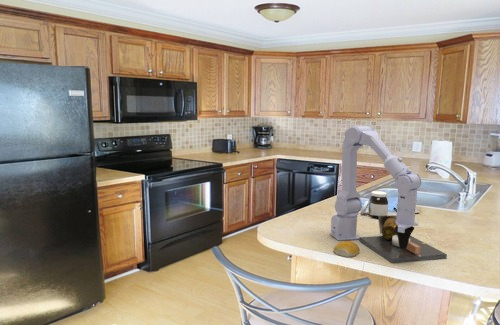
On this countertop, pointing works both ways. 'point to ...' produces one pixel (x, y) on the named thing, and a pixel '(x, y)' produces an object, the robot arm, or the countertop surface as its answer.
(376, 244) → the base
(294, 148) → the countertop surface
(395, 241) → the collar
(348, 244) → the bread roll
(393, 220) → the condiment
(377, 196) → the spread jar
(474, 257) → the countertop surface
